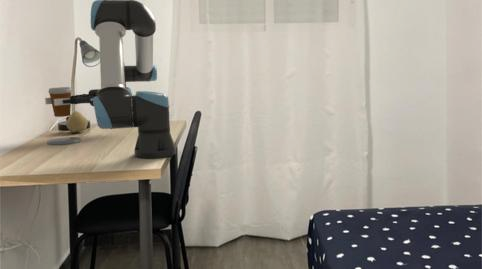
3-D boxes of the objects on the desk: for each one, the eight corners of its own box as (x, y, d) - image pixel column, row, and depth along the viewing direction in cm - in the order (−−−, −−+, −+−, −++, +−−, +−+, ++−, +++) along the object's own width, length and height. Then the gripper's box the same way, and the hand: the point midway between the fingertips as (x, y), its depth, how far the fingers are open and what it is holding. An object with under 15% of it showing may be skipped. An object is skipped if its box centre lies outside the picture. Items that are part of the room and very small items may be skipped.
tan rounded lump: (84, 129, 235) (82, 108, 233) (90, 133, 225) (89, 111, 223) (63, 132, 230) (62, 110, 228) (69, 135, 220) (67, 112, 218)
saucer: (68, 145, 195) (68, 143, 195) (39, 144, 199) (39, 142, 198) (87, 139, 208) (87, 137, 208) (60, 138, 212) (60, 136, 212)
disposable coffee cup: (78, 115, 202) (75, 87, 200) (56, 118, 195) (54, 89, 193) (67, 113, 208) (65, 86, 206) (46, 116, 201) (43, 88, 199)
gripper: (111, 107, 206) (61, 112, 191) (89, 104, 221) (40, 108, 205) (110, 90, 205) (60, 94, 189) (87, 88, 220) (39, 91, 204)
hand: (50, 101), depth 197 cm, fingers closed on disposable coffee cup, 8 cm apart
